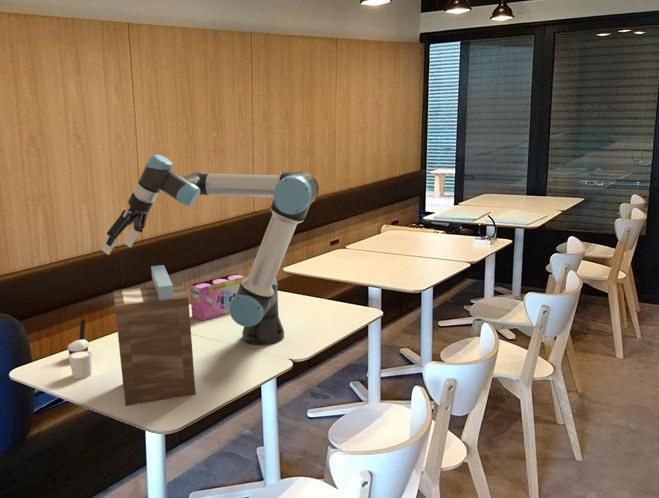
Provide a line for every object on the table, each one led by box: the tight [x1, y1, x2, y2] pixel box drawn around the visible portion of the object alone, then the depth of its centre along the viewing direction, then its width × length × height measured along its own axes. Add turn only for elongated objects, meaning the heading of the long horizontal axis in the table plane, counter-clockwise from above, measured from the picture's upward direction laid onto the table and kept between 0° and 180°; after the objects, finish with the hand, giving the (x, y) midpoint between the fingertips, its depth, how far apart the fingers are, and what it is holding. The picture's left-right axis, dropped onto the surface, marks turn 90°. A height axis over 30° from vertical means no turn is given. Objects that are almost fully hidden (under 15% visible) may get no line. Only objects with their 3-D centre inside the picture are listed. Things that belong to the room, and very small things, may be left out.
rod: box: [150, 264, 174, 300], centre depth 197 cm, size 25×4×4 cm, turn 19°
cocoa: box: [67, 319, 89, 355], centre depth 223 cm, size 10×6×12 cm, turn 148°
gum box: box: [189, 273, 246, 321], centre depth 267 cm, size 24×8×14 cm, turn 134°
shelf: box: [113, 283, 197, 407], centre depth 195 cm, size 16×20×30 cm
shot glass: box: [68, 350, 93, 380], centre depth 209 cm, size 7×7×7 cm
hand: (116, 248), depth 226 cm, fingers open, 13 cm apart
